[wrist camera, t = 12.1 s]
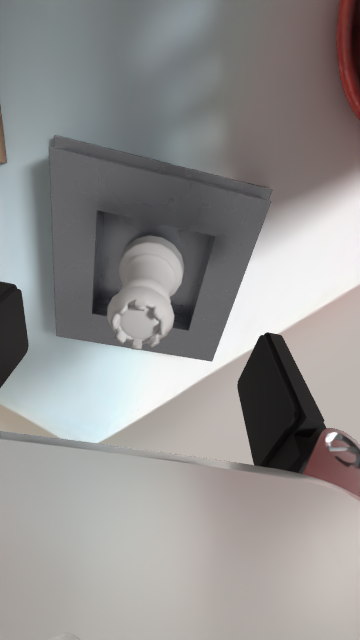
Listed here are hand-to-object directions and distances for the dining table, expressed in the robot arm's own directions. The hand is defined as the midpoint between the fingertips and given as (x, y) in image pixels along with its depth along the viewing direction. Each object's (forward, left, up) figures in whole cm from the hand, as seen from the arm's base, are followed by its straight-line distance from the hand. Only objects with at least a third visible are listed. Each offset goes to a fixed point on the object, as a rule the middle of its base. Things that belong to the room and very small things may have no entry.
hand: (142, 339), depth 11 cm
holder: (0, +1, -10) cm, 10 cm away
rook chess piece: (0, +1, -10) cm, 10 cm away
